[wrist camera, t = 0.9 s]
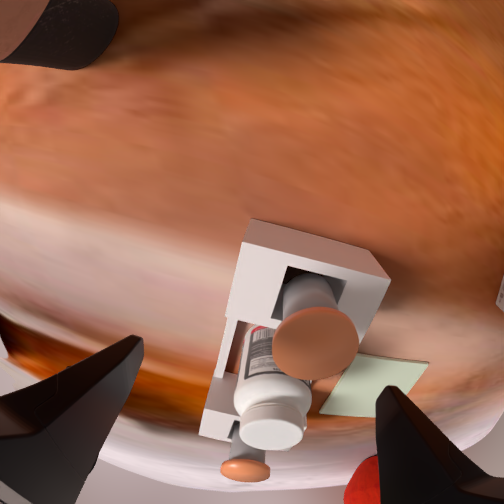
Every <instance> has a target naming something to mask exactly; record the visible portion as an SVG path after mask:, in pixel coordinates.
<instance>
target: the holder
mask: <svg viewBox="0 0 504 504" xmlns="http://www.w3.org/2000/svg"><path fill="white" fill-rule="evenodd" d="M287 266H291V267H295V268H299V269H303V270H307V271H311V272H315V273H319V274H323V278H325V279H326V280H327V281H328V282H329V284H330V286H331V288H332V291H333V294H334V297H335V300H336V303H337V307H338V310H339V311H341V312H342V313H344V314H346V315H347V316H348V317H349V318H350V319H351V320H352V322H353V324H354V326H355V328H356V331H357V334H358V337H359V344H360V342H361V341H362V339H363V337H364V335H365V333H366V331H367V329H368V328H369V326H370V324H371V322H372V320H373V318H374V316H375V314H376V312H377V310H378V308H379V306H380V304H381V301H382V299H383V297H384V295H385V293H386V291H387V289H388V286H389V284H390V282H391V279H390V278H389V276H388V275H387V274H386V272H385V271H384V270H383V268H382V267H381V266H380V264H379V263H378V262H377V260H376V259H375V258H374V256H373V255H372V254H371V253H370V251H369V250H367V249H363V248H360V247H356V246H353V245H349V244H346V243H342V242H339V241H335V240H332V239H328V238H324V237H321V236H317V235H313V234H310V233H306V232H302V231H298V230H295V229H291V228H287V227H283V226H279V225H275V224H272V223H268V222H264V221H260V220H256V219H252V218H251V219H250V222H249V224H248V227H247V230H246V233H245V235H244V238H243V241H242V245H241V249H240V253H239V258H238V262H237V266H236V270H235V274H234V279H233V283H232V287H231V292H230V296H229V300H228V305H227V309H226V313H225V317H228V319H227V323H226V327H225V332H224V336H223V340H222V344H221V348H220V353H219V357H218V361H217V366H216V369H215V370H214V374H213V378H212V381H211V385H210V389H209V392H208V396H207V400H206V403H205V407H204V411H203V416H202V420H201V425H200V430H199V434H198V435H201V436H205V437H209V438H213V439H217V440H222V441H226V442H231V443H232V437H233V431H234V426H235V425H236V424H237V423H238V422H240V418H241V416H240V415H239V414H238V412H237V411H236V409H235V406H234V392H235V387H236V381H237V376H238V375H237V374H233V373H229V372H225V371H224V370H225V367H226V363H227V359H228V355H229V351H230V348H231V344H232V340H233V336H234V332H235V329H236V325H237V321H238V320H240V321H244V322H248V323H252V324H256V325H260V326H265V327H269V328H273V329H277V327H278V326H279V324H280V323H281V322H282V321H283V291H284V288H285V286H286V285H287V284H283V283H282V282H283V278H284V275H285V272H286V269H287ZM311 382H312V380H310V384H311ZM303 421H304V431H305V429H306V428H307V417H306V415H305V416H304V417H303ZM292 447H293V446H292ZM292 447H290V448H286V449H282V450H280V451H289V450H290V449H291V448H292Z"/></svg>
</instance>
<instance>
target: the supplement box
mask: <svg viewBox="0 0 504 504" xmlns="http://www.w3.org/2000/svg"><path fill="white" fill-rule="evenodd" d="M496 305H497V306H498V307H499V308H500V309H501V310H502V311H503V312H504V275H503V279H502V283H501V286H500V290H499V293H498V296H497V300H496Z"/></svg>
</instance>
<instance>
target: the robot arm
mask: <svg viewBox="0 0 504 504" xmlns="http://www.w3.org/2000/svg"><path fill="white" fill-rule="evenodd" d="M143 357H144V344H143V338H142V337H139V336H136V335H130V336H128V337H126V338H124V339H122V340H120V341H118V342H116V343H115V344H113V345H111V346H109V347H107V348H105V349H103V350H101V351H99V352H97V353H95V354H94V355H92V356H90V357H88V358H86V359H84V360H82V361H80V362H78V363H76V364H74V365H72V366H70V367H69V366H67V368H66V369H65V370H63V371H61V372H59V373H58V374H55V375H53V376H51V377H49V378H47V379H45V380H42V381H40V382H38V383H36V384H33V385H31V386H28V387H26V388H23V389H20V390H17V391H15V392H12V393H9V394H6V395H3V396H0V504H75V502H76V500H77V498H78V496H79V494H80V491H81V489H82V487H83V485H84V483H85V481H86V478H87V476H88V474H89V473H90V472H91V471H92V469H93V468H94V466H95V464H96V461H97V458H98V455H99V452H100V450H101V448H102V446H103V444H104V442H105V440H106V438H107V436H108V434H109V432H110V430H111V428H112V426H113V424H114V423H115V421H116V419H117V417H118V415H119V413H120V411H121V409H122V407H123V405H124V403H125V402H126V400H127V398H128V396H129V394H130V391H131V389H132V386H133V384H134V381H135V378H136V376H137V373H138V371H139V368H140V366H141V363H142V361H143ZM375 413H376V445H377V456H378V468H379V483H380V504H504V478H500V477H493V476H490V475H488V474H487V473H485V472H484V471H483V470H482V469H481V468H479V467H478V466H477V465H476V464H475V463H474V462H472V461H471V460H470V459H469V458H468V457H467V456H466V455H464V454H463V453H462V452H461V451H460V450H459V449H458V448H457V447H456V446H455V445H454V444H453V443H452V442H451V441H449V439H448V438H447V437H446V436H445V435H444V434H443V433H442V431H441V430H440V429H439V428H438V427H437V426H436V425H435V424H434V423H433V422H432V421H431V420H430V419H429V418H428V417H427V416H426V415H425V414H424V413H423V412H422V411H421V410H420V409H419V408H418V407H417V406H416V405H415V404H414V403H413V402H412V401H411V400H410V399H409V398H408V397H407V396H406V395H405V394H404V393H403V392H402V391H401V390H400V389H399V388H398V387H397V386H394V385H387V386H386V387H385V388H384V389H383V391H382V392H381V393H380V395H379V396H378V398H377V399H376V403H375Z"/></svg>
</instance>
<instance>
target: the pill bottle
mask: <svg viewBox="0 0 504 504" xmlns="http://www.w3.org/2000/svg"><path fill="white" fill-rule="evenodd" d="M275 331H276V329H273V328H269V327H265V326H260V325H256V324H255V325H254V326H252V327H251V328H250V329H249V330H248V332H247V333H246V335H245V338H244V342H243V347H242V353H241V359H240V365H239V371H238V376H237V381H236V387H235V392H234V406H235V409H236V411H237V412H238V414H239V415H240V416H241V418H240V429H239V435H240V438H241V439H242V441H243V442H244V443H246V444H247V445H249V446H252V447H254V448H257V449H262V450H282V449H286V448H290V447H292V446H294V445H296V444H298V443H299V442H300V441H301V440H302V438H303V434H304V421H303V417H304V416H305V415H306V414H307V412H308V411H309V409H310V406H311V402H312V394H311V384H310V380H301V379H297V378H294V377H291V376H289V375H287V374H285V373H284V372H283V371H281V370H280V369H279V368H278V367H277V365H276V364H275V362H274V360H273V356H272V341H273V336H274V333H275Z"/></svg>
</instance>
